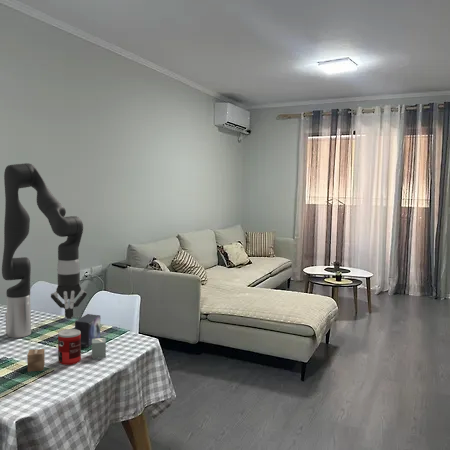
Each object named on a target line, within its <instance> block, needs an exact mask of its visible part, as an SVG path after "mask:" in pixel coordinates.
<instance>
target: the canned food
mask: <svg viewBox="0 0 450 450" xmlns="http://www.w3.org/2000/svg"><path fill="white" fill-rule="evenodd" d="M57 346H58V347H57V348H58V350H57V353H58V355H57V356H58V357H57V358H58V362H59V364H61V365H65V366H72V365H76V364H79V363H80V362H81V360H82V359H81V358H82V347H81V331H80V330H77V329H75V328H68V329H67V328H66V329H63V330H60V331H59V332H58V333H57Z"/></svg>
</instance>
